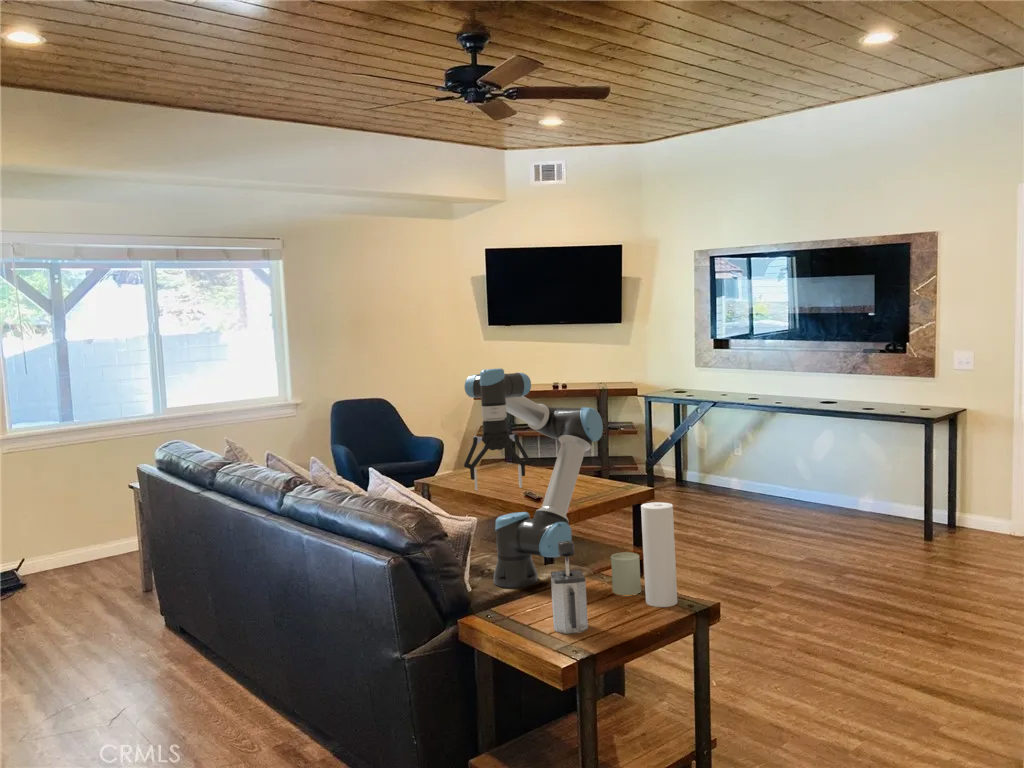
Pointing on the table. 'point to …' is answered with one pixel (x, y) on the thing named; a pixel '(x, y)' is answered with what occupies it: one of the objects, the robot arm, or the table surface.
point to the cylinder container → (659, 554)
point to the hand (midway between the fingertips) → (498, 488)
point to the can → (626, 573)
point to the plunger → (566, 552)
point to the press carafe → (569, 602)
